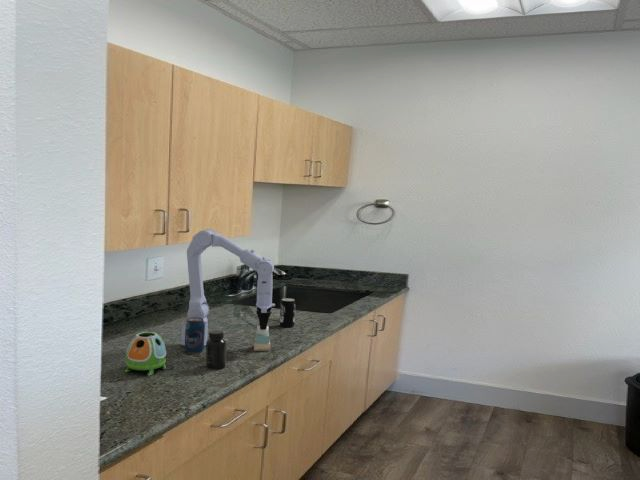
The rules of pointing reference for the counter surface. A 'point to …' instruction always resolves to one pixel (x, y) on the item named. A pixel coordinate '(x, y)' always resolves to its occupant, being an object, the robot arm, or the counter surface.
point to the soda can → (194, 335)
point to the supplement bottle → (216, 350)
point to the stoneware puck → (262, 331)
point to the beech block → (261, 346)
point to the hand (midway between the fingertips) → (263, 327)
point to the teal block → (262, 339)
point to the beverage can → (287, 312)
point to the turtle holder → (146, 353)
